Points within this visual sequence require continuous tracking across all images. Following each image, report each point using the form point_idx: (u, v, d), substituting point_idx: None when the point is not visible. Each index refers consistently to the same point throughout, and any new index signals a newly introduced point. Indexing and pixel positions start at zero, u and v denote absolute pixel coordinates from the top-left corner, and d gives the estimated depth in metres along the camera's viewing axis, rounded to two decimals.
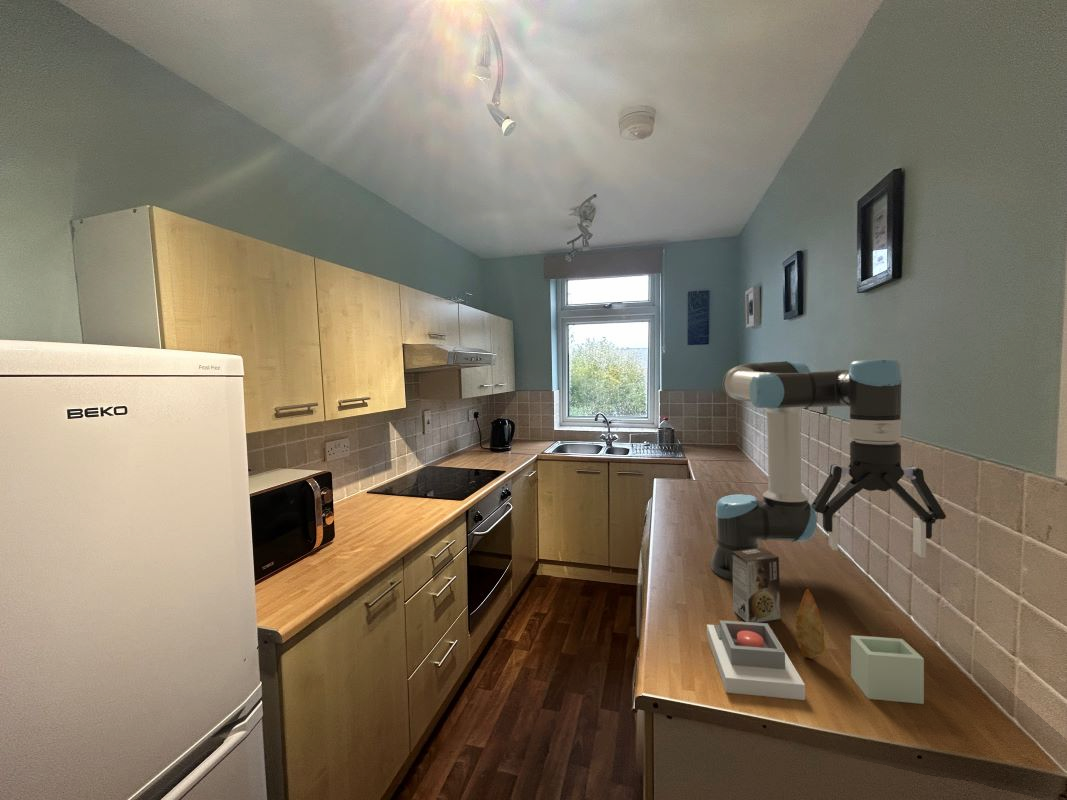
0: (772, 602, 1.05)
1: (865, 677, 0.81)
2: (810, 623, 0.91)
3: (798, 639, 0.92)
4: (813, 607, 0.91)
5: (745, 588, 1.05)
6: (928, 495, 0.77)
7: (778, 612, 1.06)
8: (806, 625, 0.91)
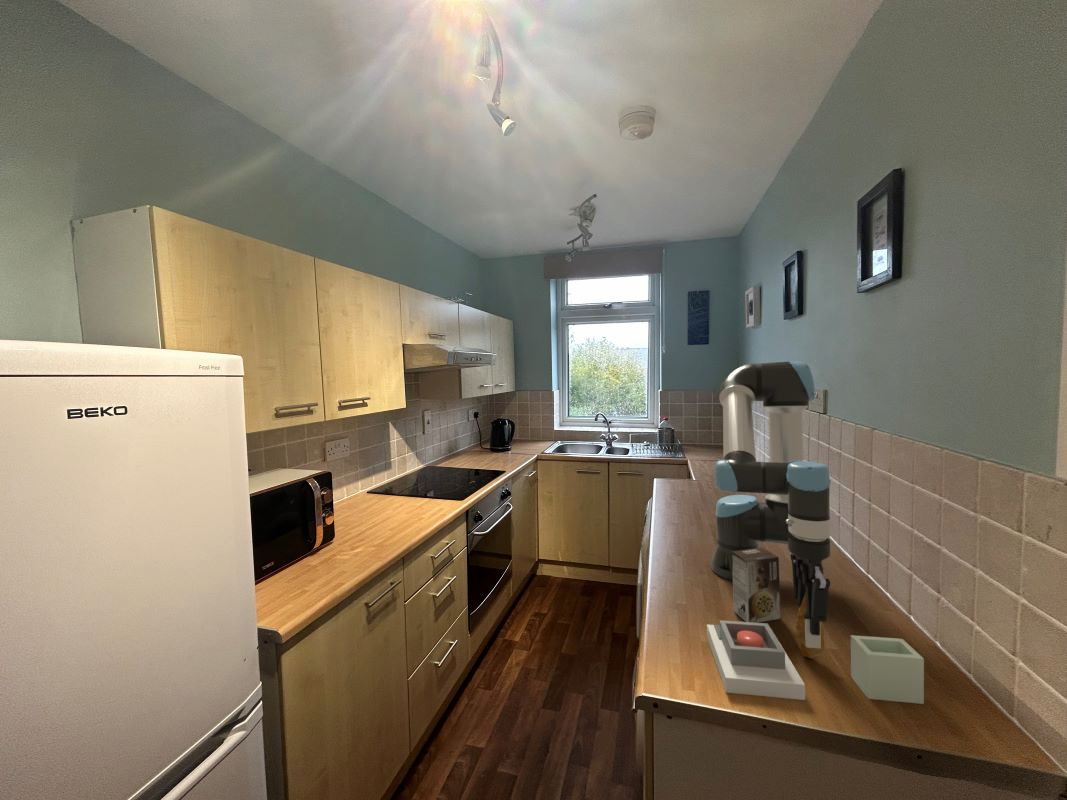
0: (773, 602, 1.05)
1: (865, 677, 0.81)
2: None
3: (798, 639, 0.92)
4: None
5: (745, 588, 1.05)
6: (812, 599, 0.86)
7: (778, 612, 1.06)
8: None
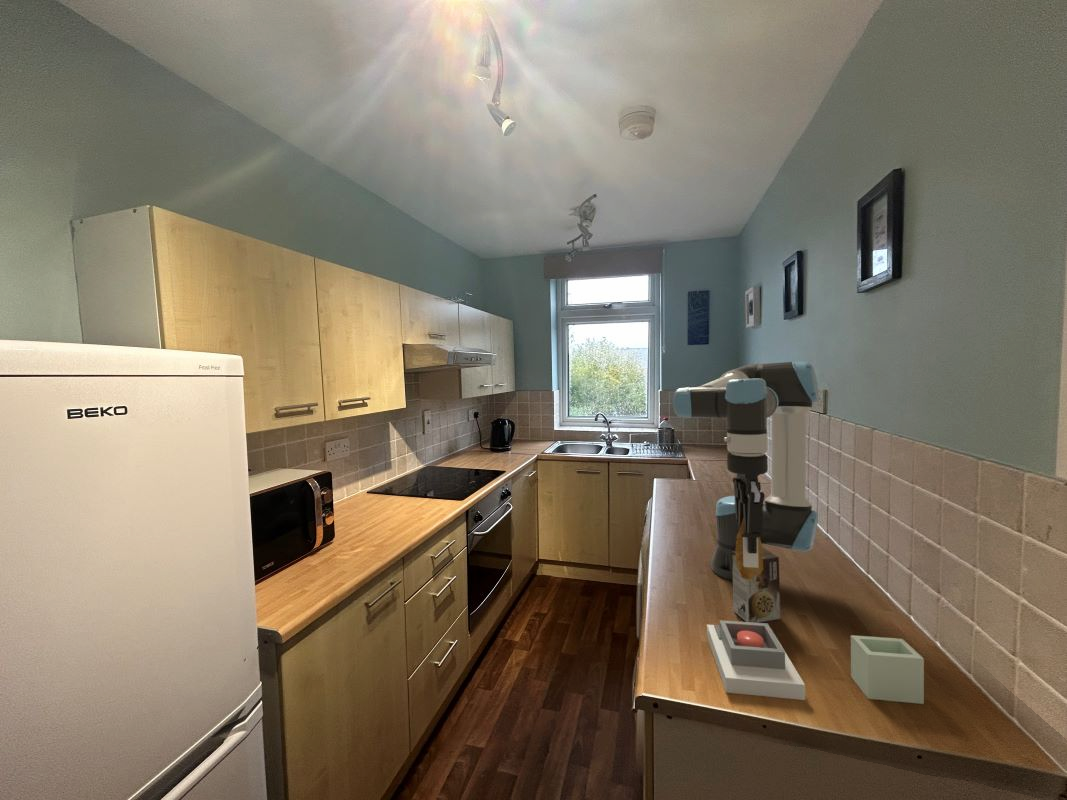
0: (773, 602, 1.05)
1: (865, 677, 0.81)
2: None
3: (738, 561, 0.90)
4: None
5: (745, 588, 1.05)
6: (748, 514, 0.84)
7: (778, 612, 1.06)
8: None
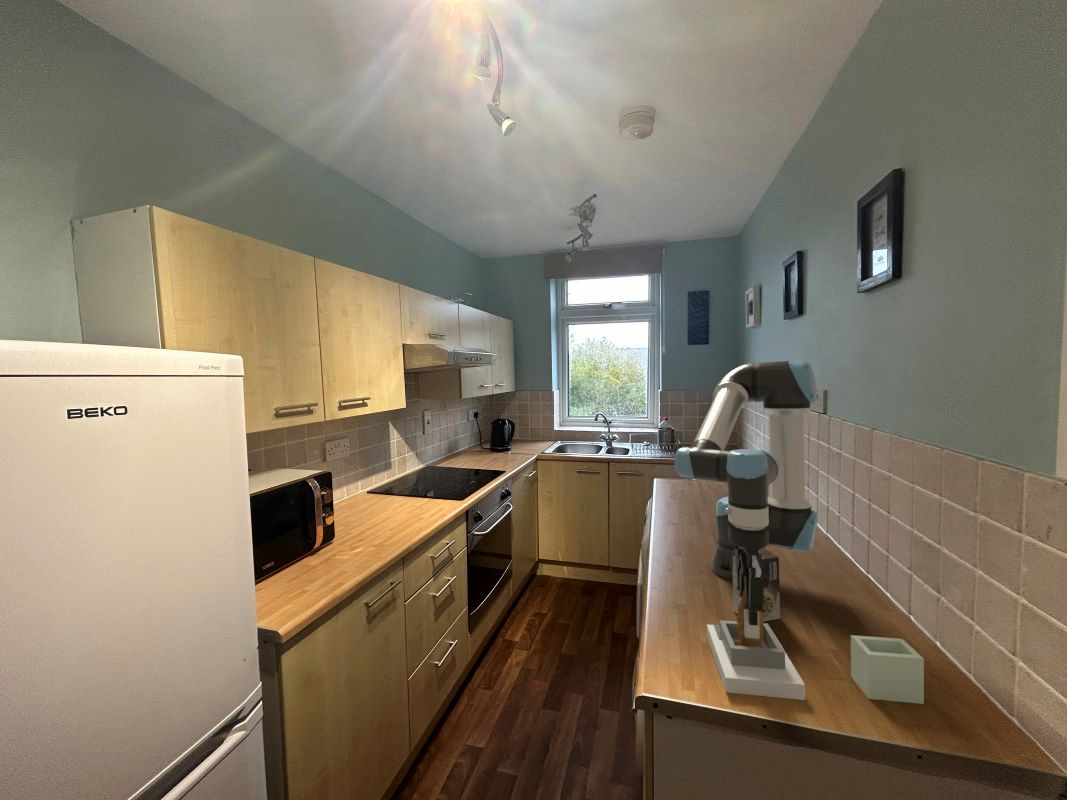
0: (772, 602, 1.05)
1: (865, 677, 0.81)
2: None
3: (739, 631, 0.90)
4: None
5: None
6: (749, 588, 0.85)
7: (778, 612, 1.06)
8: None
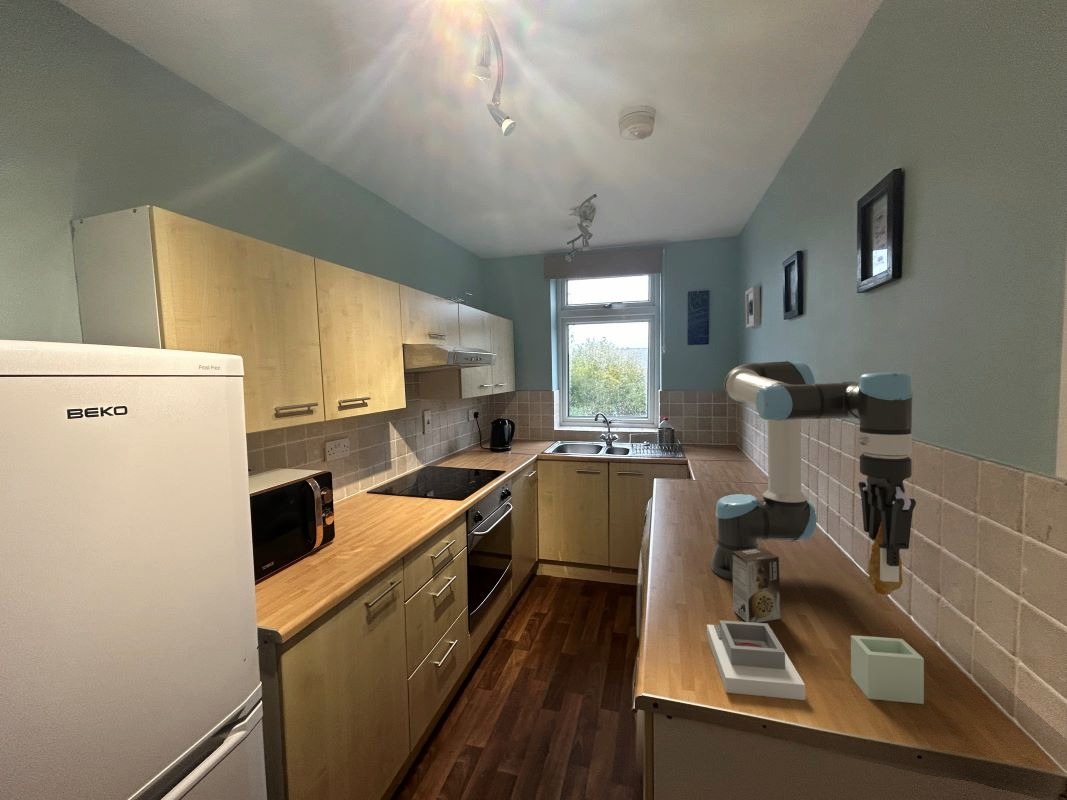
0: (773, 602, 1.05)
1: (865, 677, 0.81)
2: None
3: (872, 575, 0.81)
4: None
5: (745, 588, 1.05)
6: (893, 523, 0.76)
7: (778, 612, 1.06)
8: None
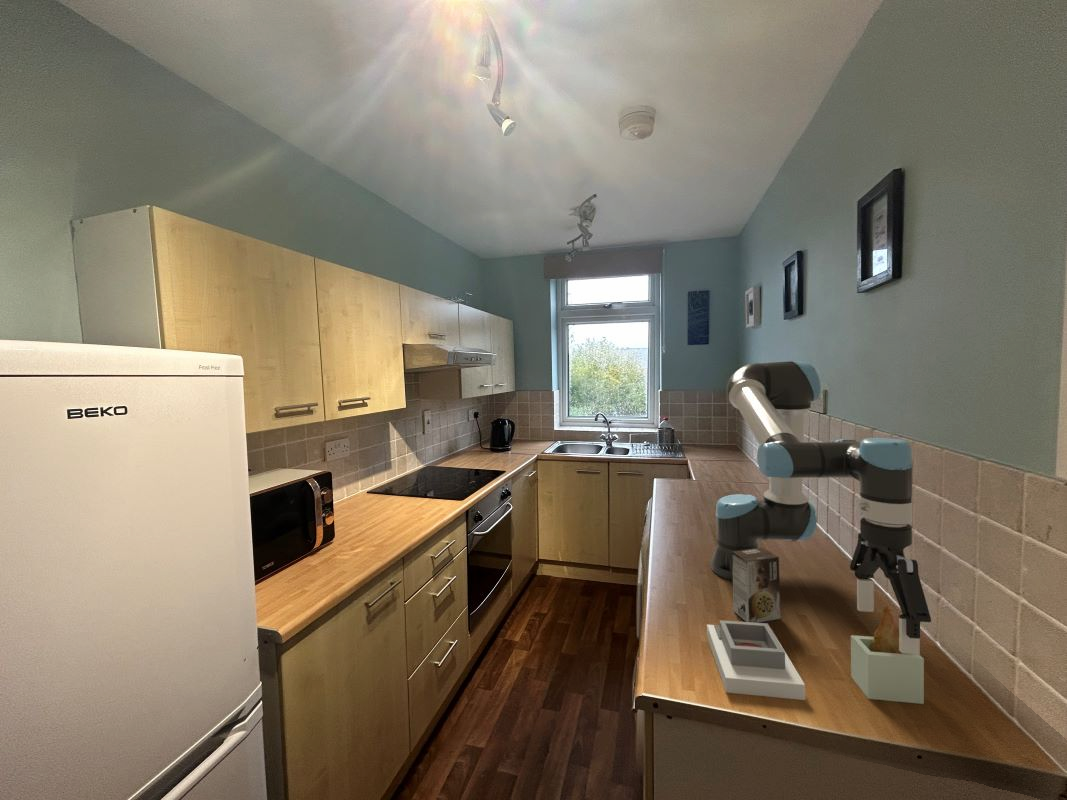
0: (773, 602, 1.05)
1: (865, 677, 0.81)
2: (889, 645, 0.81)
3: None
4: (892, 627, 0.82)
5: (745, 588, 1.05)
6: (904, 590, 0.73)
7: (778, 612, 1.06)
8: (884, 648, 0.82)
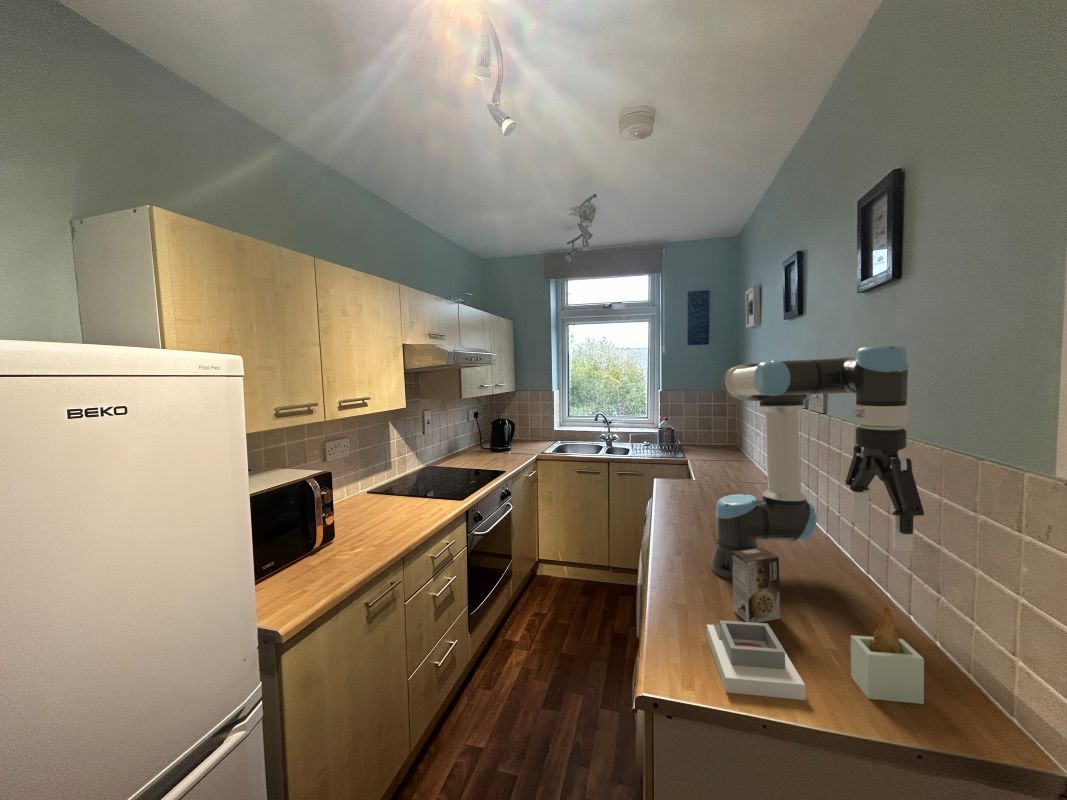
0: (773, 602, 1.05)
1: (865, 677, 0.81)
2: (889, 645, 0.81)
3: None
4: (892, 627, 0.82)
5: (745, 588, 1.05)
6: (898, 487, 0.75)
7: (778, 612, 1.06)
8: (884, 648, 0.82)
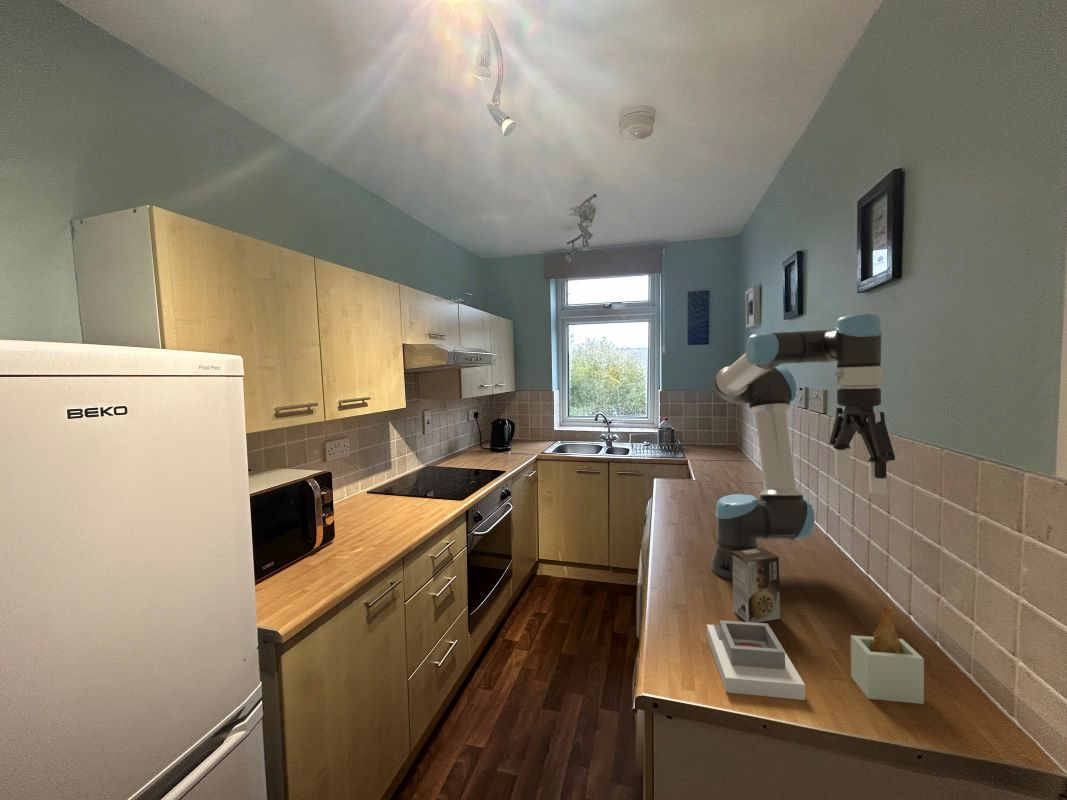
0: (773, 602, 1.05)
1: (865, 677, 0.81)
2: (889, 645, 0.81)
3: None
4: (892, 627, 0.82)
5: (745, 588, 1.05)
6: (873, 437, 0.84)
7: (778, 612, 1.06)
8: (884, 648, 0.82)
